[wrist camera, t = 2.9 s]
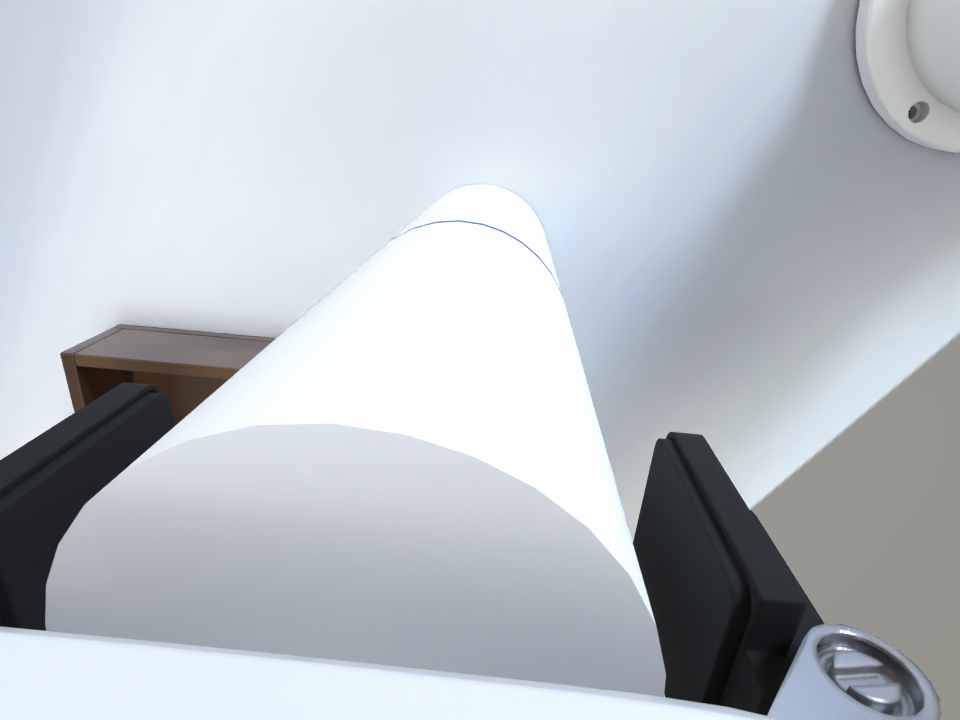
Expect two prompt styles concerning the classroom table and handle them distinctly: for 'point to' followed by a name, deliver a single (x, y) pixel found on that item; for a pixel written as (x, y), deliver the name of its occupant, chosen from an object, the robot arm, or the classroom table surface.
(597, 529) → the cylindrical container
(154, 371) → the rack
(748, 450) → the classroom table surface
